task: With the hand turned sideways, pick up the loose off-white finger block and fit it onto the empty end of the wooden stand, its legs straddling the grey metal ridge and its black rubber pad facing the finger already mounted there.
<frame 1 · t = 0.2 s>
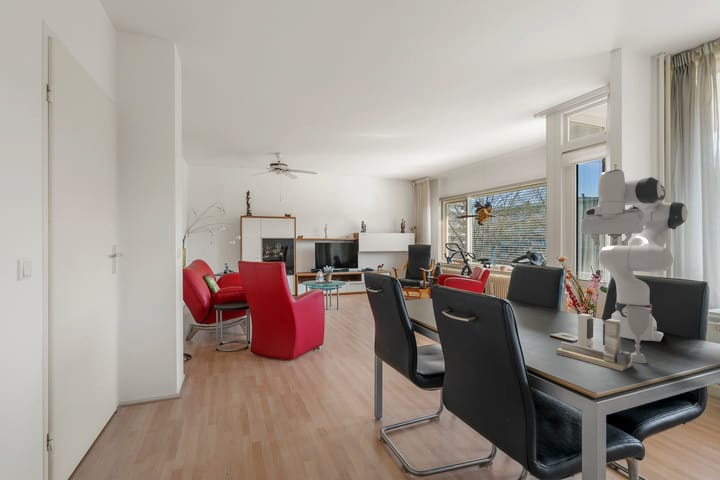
hand: (610, 245, 137), 39 cm above the table, tool pointing down, fingers open, 8 cm apart
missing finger: (584, 348, 131), on the table
wooden stand: (592, 359, 119), on the table
chalice: (637, 361, 119), on the table
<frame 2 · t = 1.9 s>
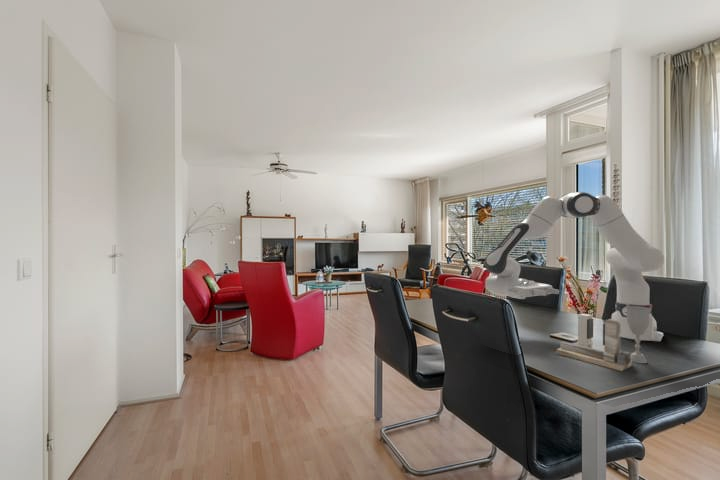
hand: (552, 292, 141), 20 cm above the table, tool horizontal, fingers open, 8 cm apart
nothing on the table moved.
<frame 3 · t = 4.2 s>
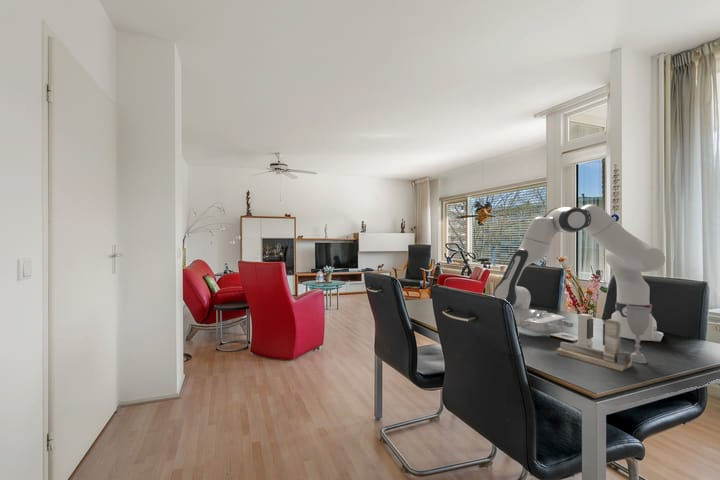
hand: (566, 326, 137), 7 cm above the table, tool horizontal, fingers open, 8 cm apart
nothing on the table moved.
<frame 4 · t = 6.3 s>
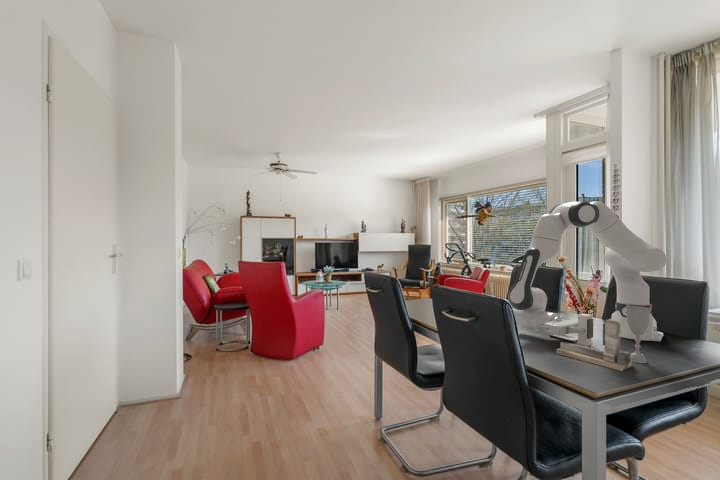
hand: (587, 330, 131), 7 cm above the table, tool horizontal, fingers closed on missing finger, 4 cm apart
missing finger: (584, 348, 131), on the table, touching gripper
everything else where it was.
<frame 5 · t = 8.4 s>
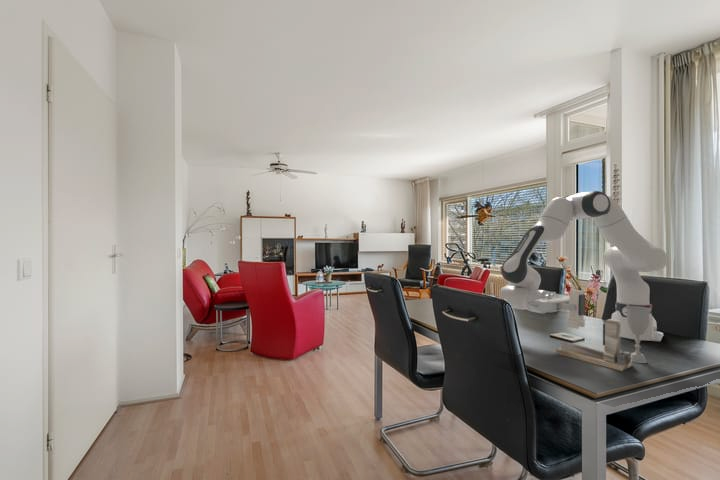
hand: (579, 307, 123), 17 cm above the table, tool horizontal, fingers closed on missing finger, 4 cm apart
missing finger: (576, 326, 124), point 10 cm above the table, touching gripper
everything else where it was.
when the fingers open (10 cm above the table, at t = 10.4 s): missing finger drops 1 cm, resting on wooden stand.
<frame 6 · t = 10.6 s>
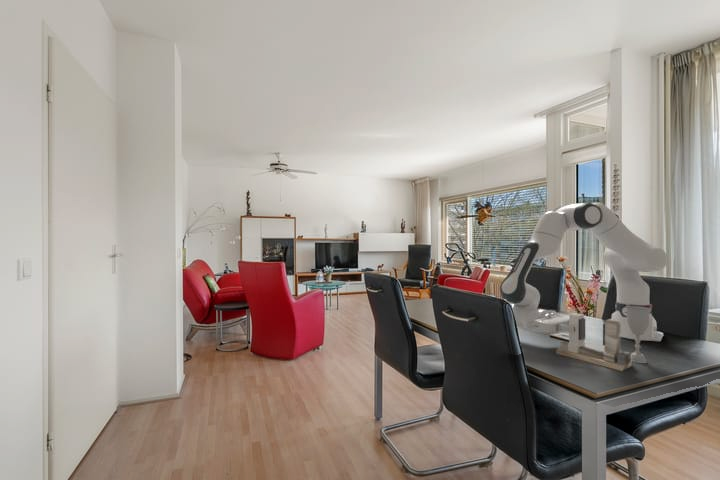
hand: (579, 328, 123), 10 cm above the table, tool horizontal, fingers open, 6 cm apart
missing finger: (576, 350, 124), point 2 cm above the table, touching wooden stand
everything else where it was.
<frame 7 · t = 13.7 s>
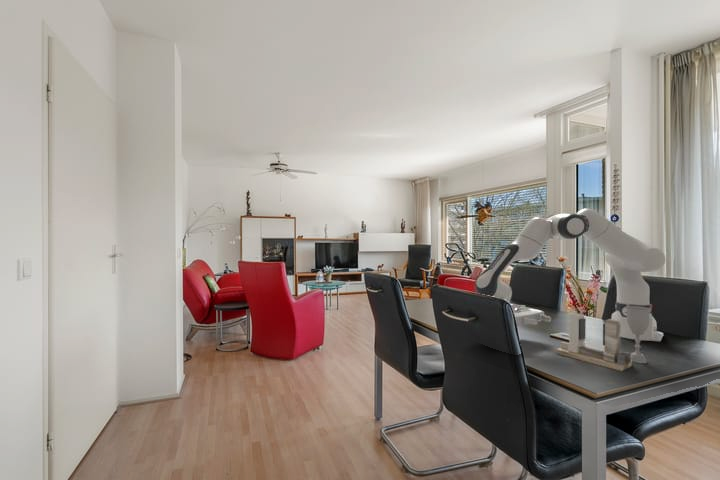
hand: (543, 320, 133), 10 cm above the table, tool horizontal, fingers open, 8 cm apart
nothing on the table moved.
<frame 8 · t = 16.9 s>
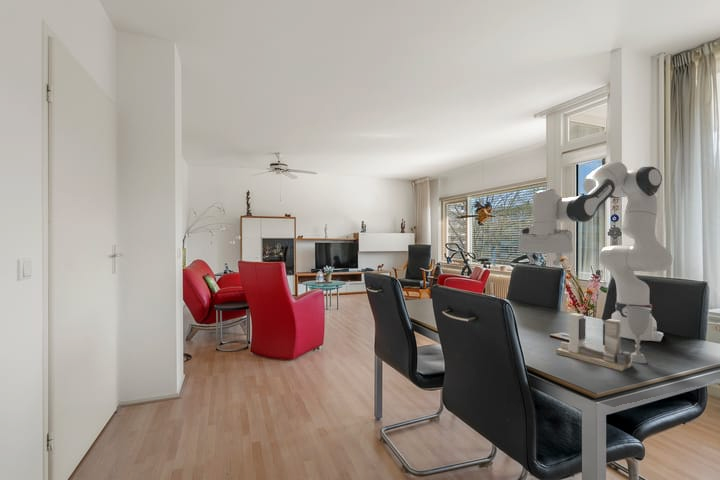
hand: (544, 264, 139), 31 cm above the table, tool pointing down, fingers open, 8 cm apart
nothing on the table moved.
at the end: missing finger 0.0 cm from the target spot, point 1.7 cm above the table; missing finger tilted 0°; the gripper is holding nothing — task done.
